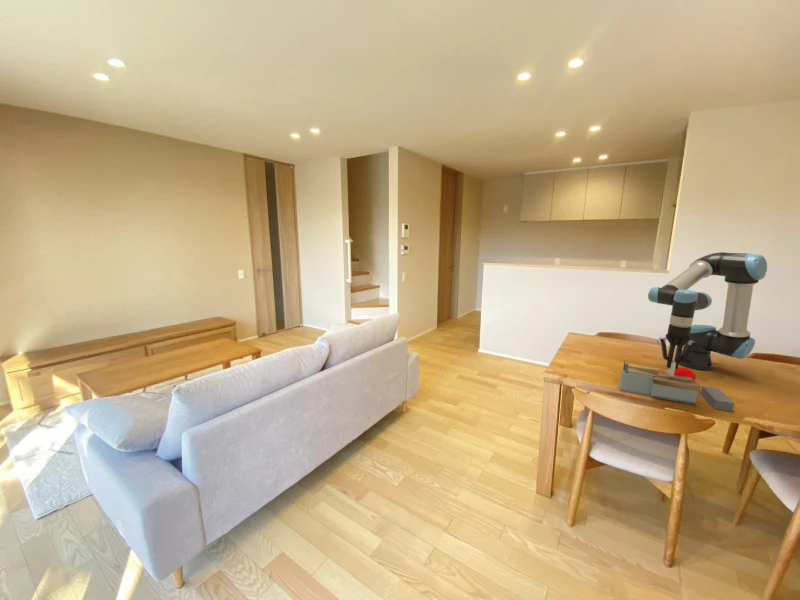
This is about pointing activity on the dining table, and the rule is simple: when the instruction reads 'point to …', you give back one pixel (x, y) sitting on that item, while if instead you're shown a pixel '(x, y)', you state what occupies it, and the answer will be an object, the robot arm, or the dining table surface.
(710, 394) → the block
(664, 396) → the open box
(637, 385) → the grey block with peg
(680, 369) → the ball
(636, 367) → the bar
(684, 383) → the lid
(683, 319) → the robot arm
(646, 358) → the dining table surface
